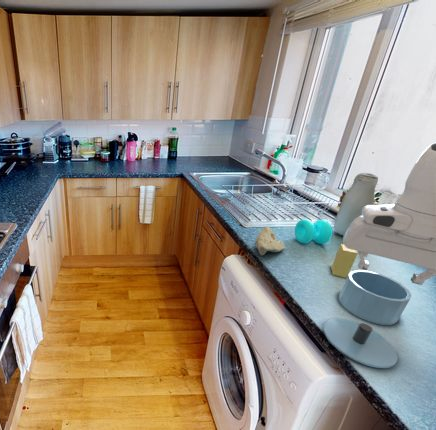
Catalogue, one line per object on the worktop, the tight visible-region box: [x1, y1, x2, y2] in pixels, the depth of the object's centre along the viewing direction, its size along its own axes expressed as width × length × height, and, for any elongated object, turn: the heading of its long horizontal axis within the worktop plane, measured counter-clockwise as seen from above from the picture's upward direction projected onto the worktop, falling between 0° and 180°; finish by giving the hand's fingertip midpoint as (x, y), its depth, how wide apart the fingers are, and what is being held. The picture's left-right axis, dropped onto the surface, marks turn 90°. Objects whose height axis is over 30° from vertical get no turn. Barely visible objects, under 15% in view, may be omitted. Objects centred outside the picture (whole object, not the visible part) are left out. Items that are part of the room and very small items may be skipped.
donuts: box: [294, 218, 333, 245], centre depth 118 cm, size 10×10×10 cm
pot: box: [338, 269, 412, 326], centre depth 83 cm, size 14×14×8 cm
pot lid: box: [322, 318, 399, 369], centre depth 71 cm, size 15×15×6 cm
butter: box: [330, 243, 359, 279], centre depth 98 cm, size 4×5×10 cm
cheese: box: [254, 226, 286, 256], centre depth 111 cm, size 15×7×15 cm
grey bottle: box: [333, 172, 379, 237], centre depth 120 cm, size 10×10×28 cm
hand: (387, 275), depth 65 cm, fingers open, 8 cm apart
